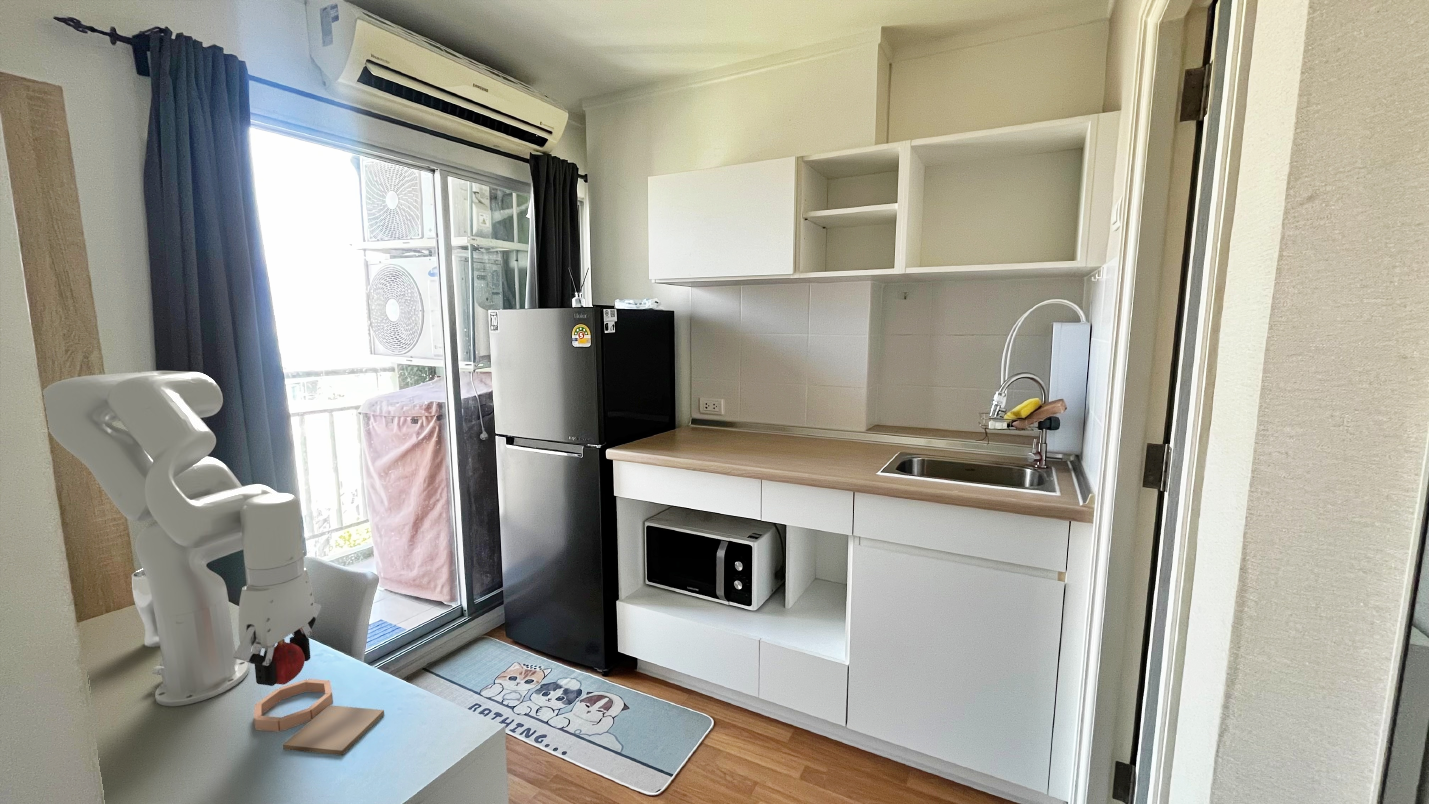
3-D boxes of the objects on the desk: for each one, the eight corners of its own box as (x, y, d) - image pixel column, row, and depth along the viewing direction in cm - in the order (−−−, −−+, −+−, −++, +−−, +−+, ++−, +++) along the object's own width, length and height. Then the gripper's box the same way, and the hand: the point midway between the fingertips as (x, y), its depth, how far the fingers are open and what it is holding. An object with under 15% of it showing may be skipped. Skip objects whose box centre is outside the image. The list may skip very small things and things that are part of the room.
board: (282, 749, 87) (282, 744, 87) (329, 709, 96) (329, 705, 96) (342, 755, 86) (341, 750, 85) (384, 714, 94) (383, 709, 94)
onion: (314, 679, 97) (310, 636, 96) (276, 699, 92) (272, 654, 91) (293, 668, 100) (289, 626, 98) (255, 688, 94) (251, 643, 93)
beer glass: (183, 626, 122) (173, 560, 120) (192, 636, 118) (181, 568, 116) (138, 641, 117) (126, 572, 115) (145, 652, 113) (134, 581, 111)
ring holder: (238, 727, 92) (237, 717, 91) (293, 686, 102) (292, 677, 101) (296, 733, 90) (295, 723, 90) (346, 691, 100) (345, 681, 100)
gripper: (299, 546, 101) (306, 639, 104) (201, 593, 85) (213, 703, 87) (337, 550, 100) (344, 644, 103) (246, 598, 84) (257, 709, 87)
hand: (284, 670), depth 95 cm, fingers closed on onion, 5 cm apart
